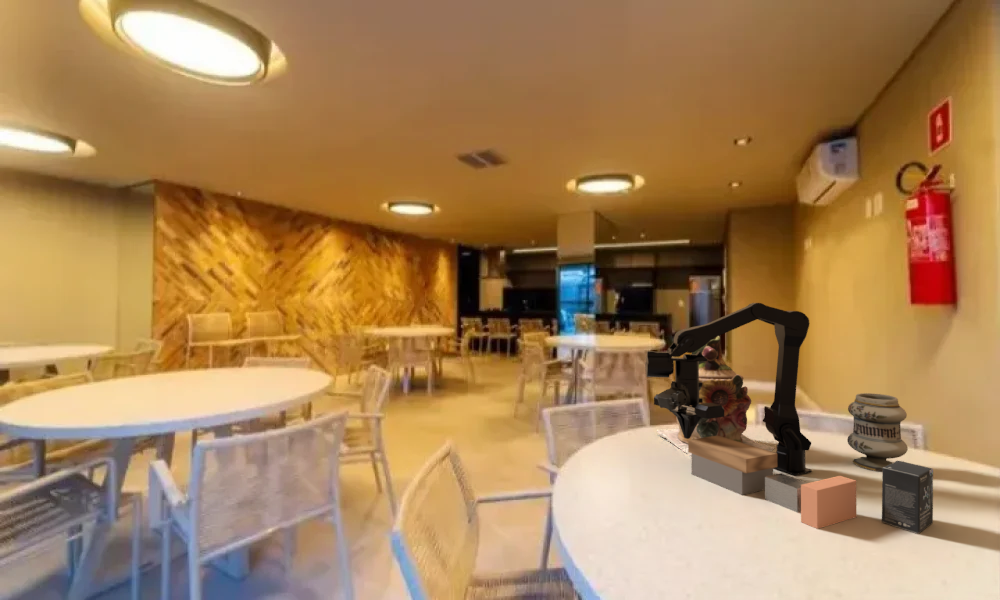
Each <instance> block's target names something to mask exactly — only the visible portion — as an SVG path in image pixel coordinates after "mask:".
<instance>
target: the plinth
mask: <svg viewBox="0 0 1000 600" xmlns="http://www.w3.org/2000/svg"><path fill="white" fill-rule="evenodd" d="M691 475H692V476H695V477H698V478H699V479H702V480H704V481H707V482H710V483H712V484H715V485H717V486H719V487H722V488H724V489H726V490H729V491H732V492H734V493H736V494H739V495H741V496H745V495H748V494H752V493H756V492H762V491H765V477H766V476H771V475H774V468H770V469H765V470H760V471H755V472H750V473H744V472H741V471H738V470H736V469H733V468H730V467H727V466H725V465H722V464H719V463H716V462H714V461H711V460H708V459H706V458H703V457H700V456H697V455H695V454H692V456H691Z"/></svg>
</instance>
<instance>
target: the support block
mask: <svg viewBox="0 0 1000 600" xmlns="http://www.w3.org/2000/svg"><path fill="white" fill-rule="evenodd" d="M807 483H808V482H806V481H804V480H801V479H799V478H795V477H793V476H789V475H787V474H783V473H775V474H773V475H771V476H766V477H765V490H764V500H766V501H769V502H770V503H773V504H776V505H778V506H781V507H782V508H785V509H788V510H789V511H792V512H795V513H797V514H798V513H801V485H802V484H807Z"/></svg>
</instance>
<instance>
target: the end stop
mask: <svg viewBox="0 0 1000 600" xmlns="http://www.w3.org/2000/svg"><path fill="white" fill-rule="evenodd" d="M854 518H857V480H855V479H852V478H848V477H846V476H842V475H837V476H833V477H828V478H825V479H820V480H816V481H811V482H807V484H802V485H801V512H800V522H801V523H803V524H805V525H808V526H810V527H812V528H813V529H818V530H819V529H821V528H824V527H828V526H832V525H834V524H838V523H841V522H844V521H849V520H850V519H851V520H852V519H854Z"/></svg>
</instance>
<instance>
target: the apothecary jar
mask: <svg viewBox="0 0 1000 600" xmlns="http://www.w3.org/2000/svg"><path fill="white" fill-rule="evenodd" d="M847 411H848V412H849V414H850V415H851V416H853V428H852V429H853V430H852V432H851V433H850V434H849V435H848V437H847V439H846V440H847V444H848V446H850V448H851V449H853V450H854V451H856V452H858V453H860V454H861V455H862V454H863V455H865V456H862V457H856V458H854V459H852V464H854V465H855V466H856V467H859V468H862V469H865V470H869V471H873V470H874V471H873V472H883V467H885V466H888V465H890V464H892V463H893V461H890V460H888V459H898V458H900V457H902V456H905V454H907V452H908V449H909V448H908V445H907V443H906V442H905V441H904V440H903V439H902V435H901V422H903V421H904V420H905V419H906V418H907V411H906V410H905V409H904V408H903V407H901V406H900V403H899V399H898V398H897V397H895V396H894V395H887V394H881V393H867V392H866V393H865V392H864V393H857V394H856V395H855V398H854V401H853V402H851V403H850V404H848V407H847Z"/></svg>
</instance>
